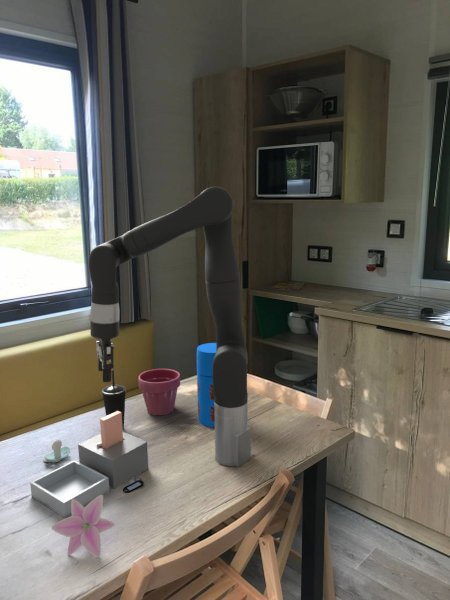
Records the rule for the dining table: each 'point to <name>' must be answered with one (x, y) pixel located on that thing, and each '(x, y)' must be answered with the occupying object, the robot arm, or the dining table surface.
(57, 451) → the pacifier
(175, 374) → the plant pot
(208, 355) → the thermos
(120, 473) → the dispenser
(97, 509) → the lily
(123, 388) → the drinking cup
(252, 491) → the dining table surface
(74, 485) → the bin
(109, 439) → the tall pink plank
